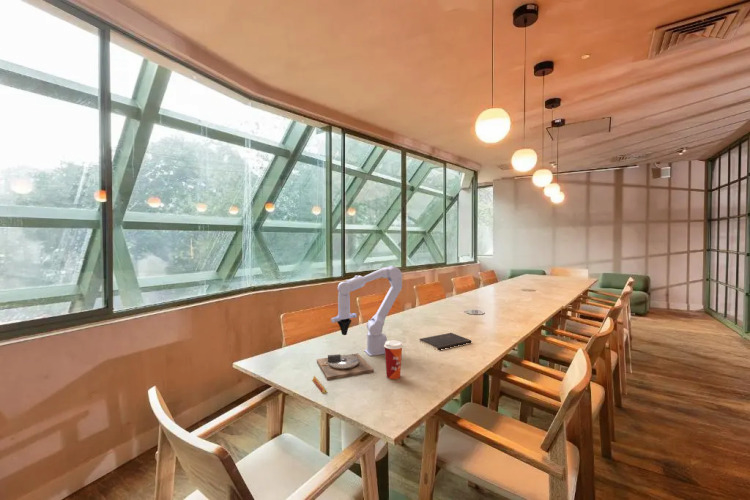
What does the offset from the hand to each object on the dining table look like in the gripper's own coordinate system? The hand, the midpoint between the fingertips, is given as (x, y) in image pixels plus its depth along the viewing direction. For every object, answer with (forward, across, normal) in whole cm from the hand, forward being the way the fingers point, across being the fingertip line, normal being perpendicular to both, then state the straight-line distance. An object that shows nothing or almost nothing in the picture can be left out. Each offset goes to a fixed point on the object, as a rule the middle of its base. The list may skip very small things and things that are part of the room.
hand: (344, 334), depth 154 cm
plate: (+10, +10, +11) cm, 18 cm away
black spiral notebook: (+11, -50, +26) cm, 57 cm away
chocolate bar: (+10, +28, +18) cm, 35 cm away
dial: (+8, +10, +11) cm, 17 cm away
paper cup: (+10, +2, +33) cm, 35 cm away
